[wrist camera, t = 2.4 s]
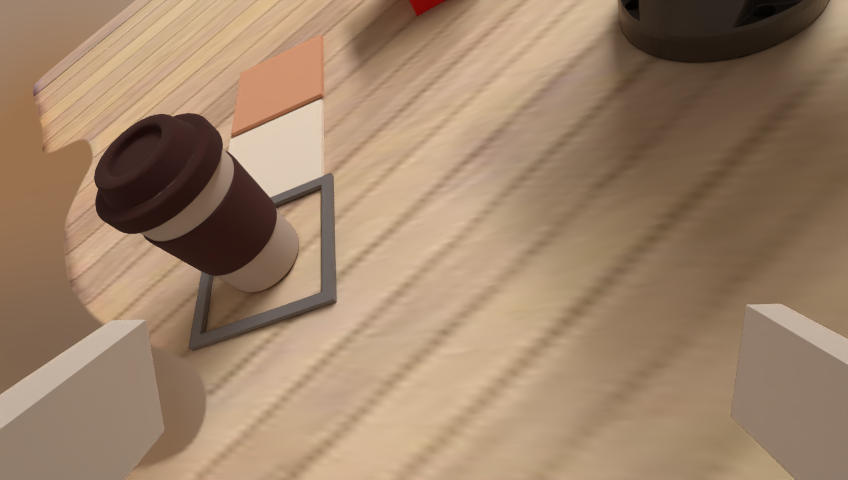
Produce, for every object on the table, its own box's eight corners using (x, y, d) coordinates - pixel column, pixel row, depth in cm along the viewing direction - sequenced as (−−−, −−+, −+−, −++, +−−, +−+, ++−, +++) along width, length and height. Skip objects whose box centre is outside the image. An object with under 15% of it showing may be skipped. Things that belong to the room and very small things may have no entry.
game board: (236, 79, 67) (234, 76, 67) (329, 34, 64) (327, 31, 64) (192, 350, 44) (188, 348, 43) (336, 301, 40) (333, 298, 40)
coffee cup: (220, 243, 50) (85, 140, 39) (306, 196, 49) (192, 75, 38) (223, 327, 44) (62, 233, 32) (322, 276, 43) (191, 159, 31)
